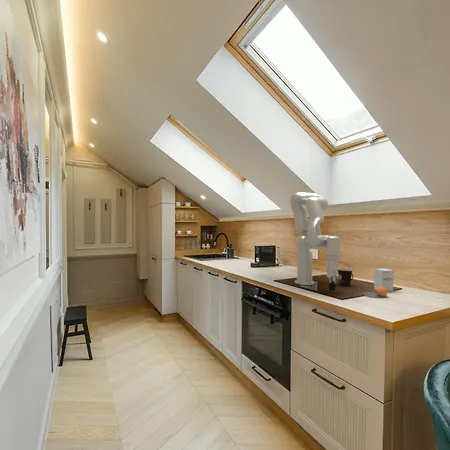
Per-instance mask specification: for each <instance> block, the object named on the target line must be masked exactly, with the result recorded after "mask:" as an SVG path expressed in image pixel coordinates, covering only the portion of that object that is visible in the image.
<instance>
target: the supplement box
mask: <svg viewBox="0 0 450 450" xmlns="http://www.w3.org/2000/svg"><path fill="white" fill-rule="evenodd" d="M394 272H395V271H394V270H392V269H389V268H374V275H373V276H374V277H373V278H374V279H373V282H374V283H373V285H374V286H373V287H374V288H373V290H375V291H376V289H377V288H378V287H380V286H383V287H385V288H386V289H387V291H388V292H389V293H390V292H391V293H392V292H394V274H395V273H394Z"/></svg>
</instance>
